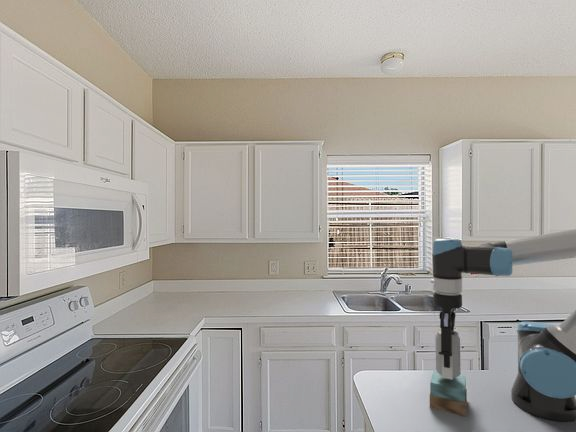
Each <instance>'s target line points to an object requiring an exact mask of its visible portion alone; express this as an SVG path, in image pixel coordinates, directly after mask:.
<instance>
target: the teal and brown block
mask: <svg viewBox="0 0 576 432" xmlns="http://www.w3.org/2000/svg"><path fill="white" fill-rule="evenodd" d="M466 381H467V378H466V376H464V375H459V376H458V377H456V378H453V380H452V379H447V378H442V375H440V374H439V373H438V372H437V371H436V369H434V370H433V372H432V376H431V379H430V382H429V383H430V384H429V389H430V393H429V408H430V409H434V410H438V411H442V412H446V413H450V414H455V415H457V416H458V415H459V416H462V417H465V418H466V417H467V404H468V403H467V399H468V397H467V395H468V393H467V387H466V386H467V384H466V383H467V382H466Z"/></svg>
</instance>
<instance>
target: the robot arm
mask: <svg viewBox="0 0 576 432" xmlns="http://www.w3.org/2000/svg"><path fill="white" fill-rule="evenodd" d="M431 255H432V256H431V257H432V278H433V279H430V283H432V289H433V291H434V292H433V293H432V304H433V305H434V306H435V307H438V308H441V309H442V310H440V312H439V315H438V316H439V319H440V320H439V321H440V322H439V323H440V325H439V326H440V329H441V352H439V354H441V355H442V378H447V379H452V380H453V356H452V334H453V333H452V331H455V330H454V329H455V323H456V312H455V310H457V309H461V308H462V307H463V295H462V294H461V293H463V276H462V275H463V274H475V275H485V276H486V275H487V276H495V277H500V276H501V277H509V276H511V275H512V274H513V266H521V265H529V264H537V263H543V262H544V263H545V262H551V261H558V260H566V259H567V260H568V259H574V258H576V228H573V229H568V230H563V231H562V230H561V231H555V232H550V233H544V234H543V233H542V234H539V235H538V234H537V235H533V236H527V237H522V238H521V237H519V238H515V239H509V240H505V241H497V242H485V243H483V244H481V245H478V246H466V245H463V244H462V241H461V239H459V238H437V239H434V241H433V242H432V254H431ZM516 332H517V368H518V369H517V375H516V376H515V380H514V382H513V384H512V387H511V390H510V392H511V394H510V397H511V400H512V402H513V404H515V405H516V406H517V407H518V408H520V409H522V410H523V411H525V412H527V413H530V414H531V415H535V416H536V417H540V418H542V419H546V420H551V421H558V422H572V421H576V309H575V310H574V311H573V312H571V314H569V316H567V318H566V319H564V320H563V322H561V323H560V324H559V325H556V324H551V323H546V322H545V323H544V322H538V321H537V322H536V321H521V322H518V324H517V329H516Z"/></svg>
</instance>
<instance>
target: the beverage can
mask: <svg viewBox="0 0 576 432" xmlns="http://www.w3.org/2000/svg"><path fill="white" fill-rule="evenodd" d="M452 333H453V334H452V356H453V378H456V377H458V376H461V371H462V370H461V337H460V336H459V332H458V331H455V330H454V331H452ZM434 339H435V341H434V342H435V371H437V372H438V373H439V374H440V375H442V355H441V354H439V352H441V328H440V329H438V330H436V333H435V338H434Z"/></svg>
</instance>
